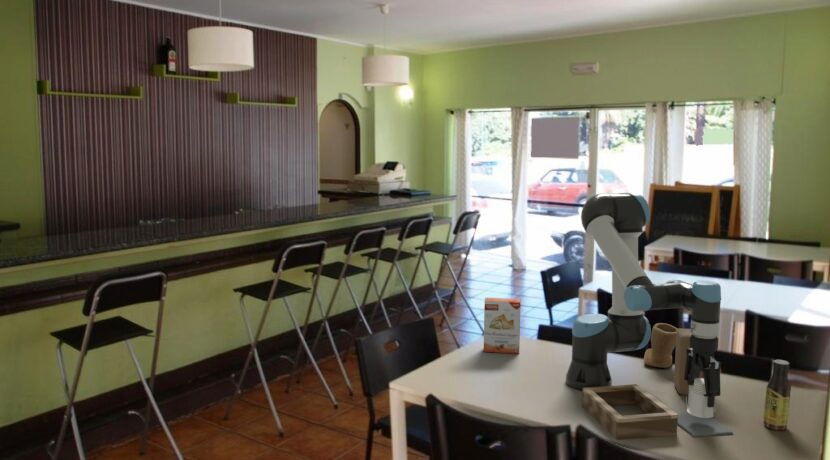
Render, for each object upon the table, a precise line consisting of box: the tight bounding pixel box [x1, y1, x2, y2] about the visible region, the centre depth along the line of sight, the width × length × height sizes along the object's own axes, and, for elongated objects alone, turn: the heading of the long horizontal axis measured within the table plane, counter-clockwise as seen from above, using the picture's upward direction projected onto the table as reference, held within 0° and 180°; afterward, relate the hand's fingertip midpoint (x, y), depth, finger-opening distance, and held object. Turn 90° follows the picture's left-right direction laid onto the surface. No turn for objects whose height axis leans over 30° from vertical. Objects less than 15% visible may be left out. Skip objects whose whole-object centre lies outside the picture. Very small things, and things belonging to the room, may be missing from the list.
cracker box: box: [483, 297, 522, 355], centre depth 265 cm, size 14×6×21 cm, turn 80°
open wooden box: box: [581, 383, 679, 441], centre depth 202 cm, size 24×18×6 cm
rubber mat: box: [677, 412, 734, 438], centre depth 198 cm, size 14×12×1 cm
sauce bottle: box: [762, 359, 792, 431], centre depth 195 cm, size 6×6×20 cm
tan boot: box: [643, 322, 678, 368], centre depth 251 cm, size 15×12×15 cm
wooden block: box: [673, 327, 710, 396], centre depth 223 cm, size 10×10×20 cm
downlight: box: [685, 378, 716, 418], centre depth 197 cm, size 8×7×10 cm
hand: (700, 411), depth 197 cm, fingers closed on downlight, 7 cm apart
